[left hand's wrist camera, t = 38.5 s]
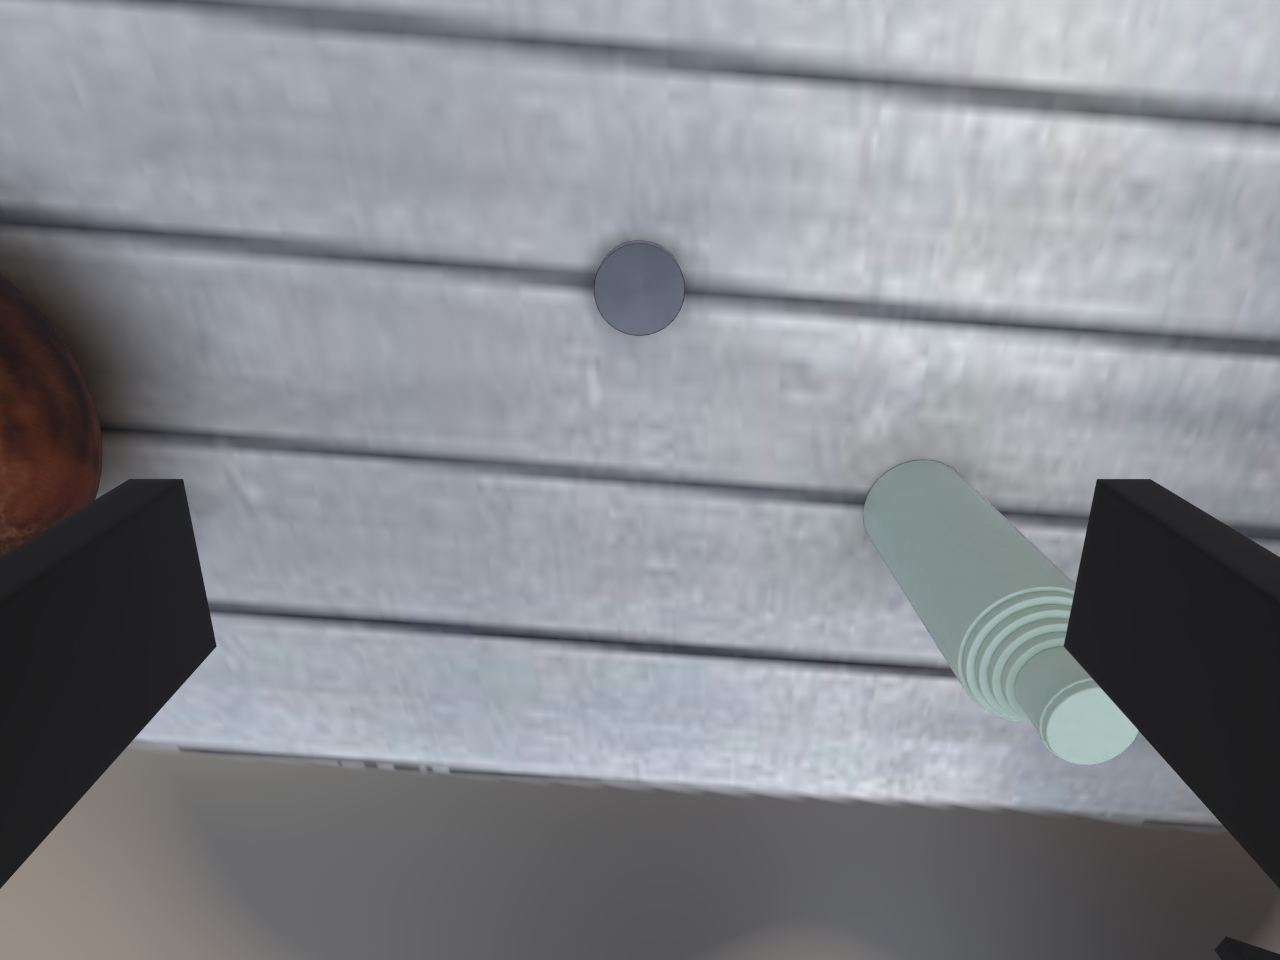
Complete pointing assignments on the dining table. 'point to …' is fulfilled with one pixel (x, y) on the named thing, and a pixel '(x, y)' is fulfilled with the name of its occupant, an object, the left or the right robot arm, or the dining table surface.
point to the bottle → (992, 608)
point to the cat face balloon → (41, 425)
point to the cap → (639, 288)
